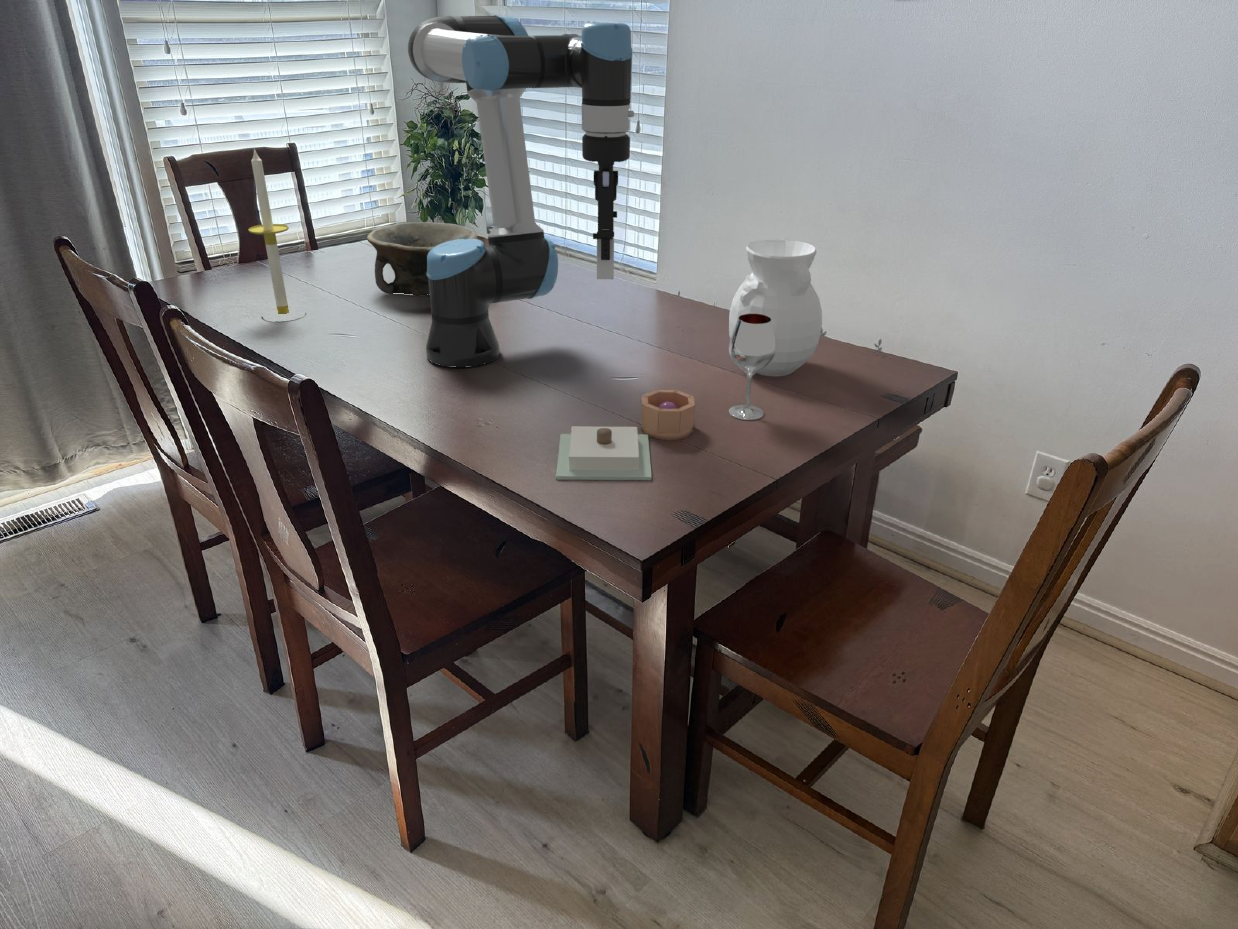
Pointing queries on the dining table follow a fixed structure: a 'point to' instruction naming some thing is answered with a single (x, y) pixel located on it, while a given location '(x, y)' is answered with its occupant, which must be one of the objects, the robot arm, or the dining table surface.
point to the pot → (667, 414)
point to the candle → (269, 235)
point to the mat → (567, 474)
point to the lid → (604, 448)
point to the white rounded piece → (782, 301)
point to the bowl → (410, 253)
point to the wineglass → (751, 355)
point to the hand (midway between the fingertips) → (605, 267)
